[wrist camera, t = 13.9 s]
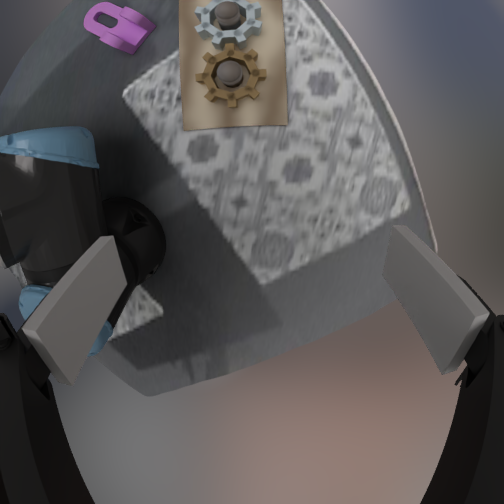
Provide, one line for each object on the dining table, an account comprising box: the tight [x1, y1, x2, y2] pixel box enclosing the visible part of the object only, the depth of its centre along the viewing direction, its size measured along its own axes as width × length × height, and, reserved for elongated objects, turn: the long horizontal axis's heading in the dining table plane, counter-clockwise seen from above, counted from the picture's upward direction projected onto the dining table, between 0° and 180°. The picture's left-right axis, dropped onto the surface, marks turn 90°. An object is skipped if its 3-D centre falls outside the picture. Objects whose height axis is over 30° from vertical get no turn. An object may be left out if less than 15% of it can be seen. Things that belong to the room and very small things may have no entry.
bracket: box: [84, 2, 156, 55], centre depth 23 cm, size 13×6×7 cm, turn 50°
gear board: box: [179, 0, 288, 131], centre depth 26 cm, size 14×22×9 cm, turn 2°
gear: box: [194, 0, 262, 51], centre depth 25 cm, size 8×8×4 cm
